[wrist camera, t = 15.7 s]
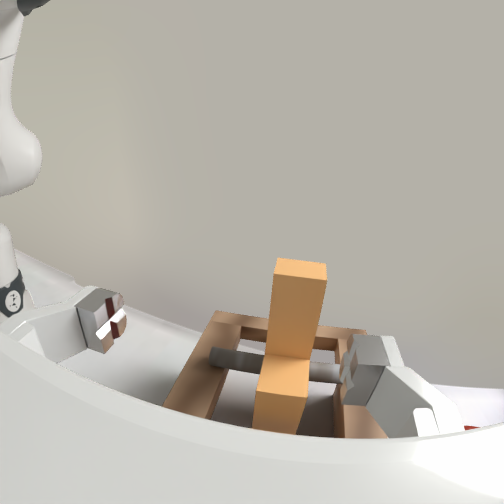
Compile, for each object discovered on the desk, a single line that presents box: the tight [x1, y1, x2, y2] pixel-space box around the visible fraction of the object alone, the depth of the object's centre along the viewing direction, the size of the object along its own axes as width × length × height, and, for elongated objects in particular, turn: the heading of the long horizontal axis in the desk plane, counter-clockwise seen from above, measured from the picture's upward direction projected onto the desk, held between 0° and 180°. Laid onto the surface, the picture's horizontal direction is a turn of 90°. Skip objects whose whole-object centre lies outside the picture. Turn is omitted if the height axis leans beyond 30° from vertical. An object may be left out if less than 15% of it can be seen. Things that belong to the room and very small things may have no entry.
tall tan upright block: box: [252, 258, 327, 435], centre depth 27 cm, size 4×12×22 cm, turn 169°
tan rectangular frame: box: [162, 311, 388, 439], centre depth 29 cm, size 20×20×15 cm
